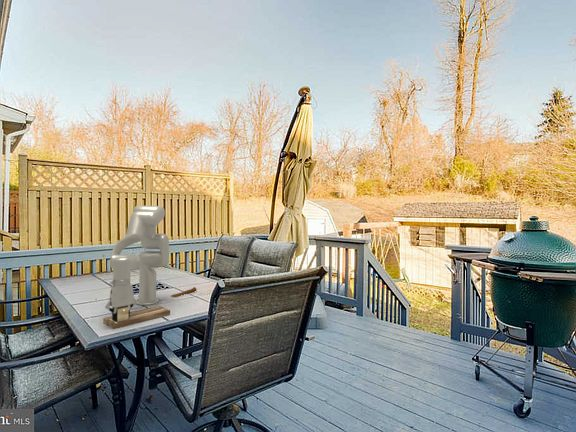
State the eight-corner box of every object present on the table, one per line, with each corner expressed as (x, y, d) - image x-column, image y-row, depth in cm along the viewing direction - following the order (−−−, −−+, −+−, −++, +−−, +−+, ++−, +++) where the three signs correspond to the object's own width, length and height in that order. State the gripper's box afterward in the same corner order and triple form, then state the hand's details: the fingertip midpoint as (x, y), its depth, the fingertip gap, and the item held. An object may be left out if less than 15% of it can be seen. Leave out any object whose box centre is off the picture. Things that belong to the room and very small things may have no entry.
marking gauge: (112, 318, 155) (112, 306, 155) (122, 316, 159) (122, 304, 159) (119, 322, 150) (119, 310, 150) (129, 319, 154) (130, 307, 154)
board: (103, 323, 156) (103, 318, 156) (158, 310, 178) (158, 305, 178) (113, 329, 148) (113, 323, 148) (170, 314, 171) (170, 310, 171)
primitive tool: (175, 298, 205) (175, 292, 205) (169, 297, 208) (169, 291, 208) (197, 292, 222) (197, 287, 222) (191, 291, 225) (192, 286, 225)
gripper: (106, 286, 146) (105, 325, 146) (142, 281, 159) (141, 316, 159) (99, 284, 150) (99, 321, 151) (135, 278, 164) (134, 313, 164)
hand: (121, 318), depth 155 cm, fingers closed on marking gauge, 4 cm apart
